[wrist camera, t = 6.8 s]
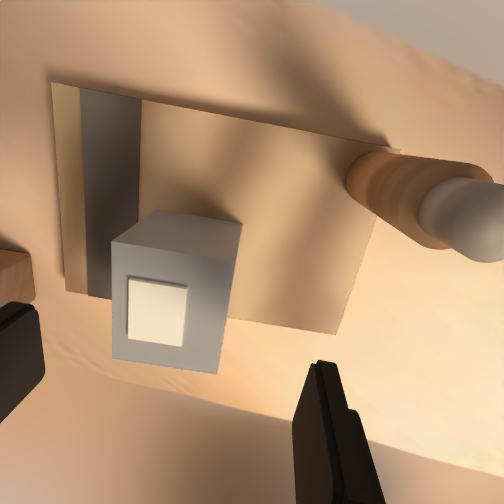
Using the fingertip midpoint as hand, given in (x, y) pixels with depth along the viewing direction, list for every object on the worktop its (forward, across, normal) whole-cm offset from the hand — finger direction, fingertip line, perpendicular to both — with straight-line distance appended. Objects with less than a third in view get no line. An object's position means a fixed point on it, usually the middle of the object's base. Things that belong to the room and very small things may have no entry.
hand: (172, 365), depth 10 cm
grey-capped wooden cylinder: (+9, -8, -6) cm, 13 cm away
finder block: (+8, +1, 0) cm, 9 cm away
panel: (+10, 0, -2) cm, 10 cm away
